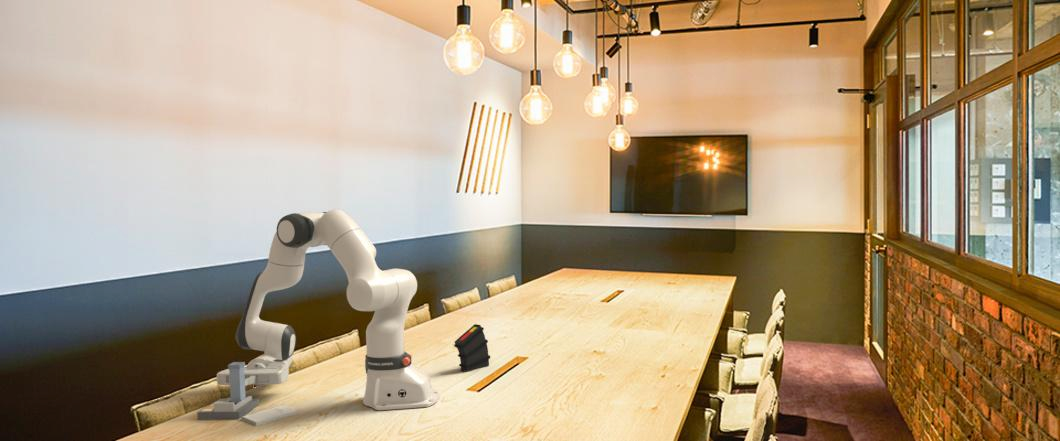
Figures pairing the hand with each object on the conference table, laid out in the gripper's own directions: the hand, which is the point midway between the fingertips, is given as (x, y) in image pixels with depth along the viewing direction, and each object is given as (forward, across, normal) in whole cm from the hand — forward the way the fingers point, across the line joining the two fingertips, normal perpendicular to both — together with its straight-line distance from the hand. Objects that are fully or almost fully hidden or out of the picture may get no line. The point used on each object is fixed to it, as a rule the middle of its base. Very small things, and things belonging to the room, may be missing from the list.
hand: (240, 383), depth 197 cm
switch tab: (+2, 0, +5) cm, 5 cm away
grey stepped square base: (+4, -2, +7) cm, 8 cm away
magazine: (-40, +63, +8) cm, 75 cm away
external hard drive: (+8, +12, +8) cm, 17 cm away
